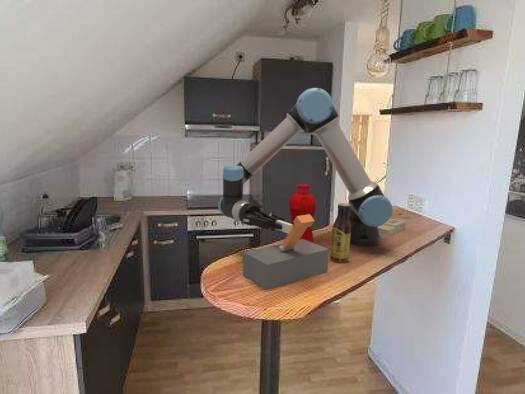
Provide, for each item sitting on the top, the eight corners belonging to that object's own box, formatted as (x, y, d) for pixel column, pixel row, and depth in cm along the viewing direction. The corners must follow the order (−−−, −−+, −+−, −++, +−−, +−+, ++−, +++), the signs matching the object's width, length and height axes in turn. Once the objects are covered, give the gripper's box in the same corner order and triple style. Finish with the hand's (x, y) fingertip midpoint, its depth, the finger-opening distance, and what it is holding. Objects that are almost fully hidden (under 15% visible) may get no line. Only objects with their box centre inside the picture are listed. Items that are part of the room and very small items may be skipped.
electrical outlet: (373, 224, 154) (390, 218, 166) (372, 233, 154) (389, 226, 167) (388, 228, 149) (405, 221, 162) (388, 237, 150) (404, 229, 162)
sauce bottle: (326, 257, 122) (329, 202, 119) (341, 255, 125) (345, 201, 121) (336, 264, 116) (340, 206, 113) (352, 262, 119) (356, 205, 115)
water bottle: (309, 246, 134) (312, 182, 129) (315, 256, 123) (319, 186, 118) (285, 246, 134) (288, 181, 129) (289, 256, 123) (291, 186, 118)
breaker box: (301, 260, 120) (302, 239, 118) (327, 271, 110) (328, 249, 109) (242, 275, 106) (243, 251, 104) (266, 290, 96) (267, 264, 95)
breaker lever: (289, 244, 109) (309, 214, 101) (294, 251, 108) (314, 220, 99) (277, 247, 106) (296, 216, 98) (281, 254, 105) (301, 223, 96)
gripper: (262, 221, 127) (306, 237, 109) (231, 226, 120) (273, 245, 101) (262, 200, 126) (307, 214, 107) (231, 204, 118) (274, 220, 100)
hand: (290, 229), depth 104 cm, fingers closed
